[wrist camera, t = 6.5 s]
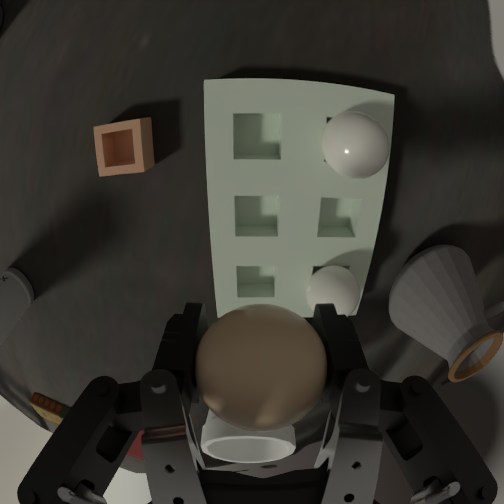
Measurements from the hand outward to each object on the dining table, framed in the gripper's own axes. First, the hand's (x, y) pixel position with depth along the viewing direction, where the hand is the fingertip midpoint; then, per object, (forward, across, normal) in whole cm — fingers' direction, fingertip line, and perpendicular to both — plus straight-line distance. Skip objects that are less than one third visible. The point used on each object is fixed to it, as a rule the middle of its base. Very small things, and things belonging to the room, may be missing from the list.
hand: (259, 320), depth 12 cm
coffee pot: (+14, -22, +4) cm, 27 cm away
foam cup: (+14, +1, +20) cm, 24 cm away
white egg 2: (+12, -7, +6) cm, 15 cm away
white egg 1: (+12, -7, -6) cm, 15 cm away
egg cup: (+14, +11, -6) cm, 18 cm away
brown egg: (0, 0, 0) cm, 0 cm away
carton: (+14, +50, +52) cm, 73 cm away
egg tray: (+14, -3, 0) cm, 14 cm away
